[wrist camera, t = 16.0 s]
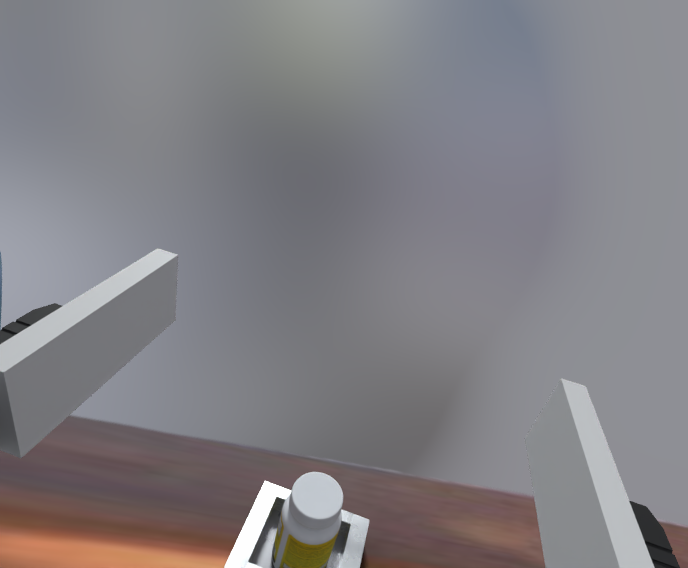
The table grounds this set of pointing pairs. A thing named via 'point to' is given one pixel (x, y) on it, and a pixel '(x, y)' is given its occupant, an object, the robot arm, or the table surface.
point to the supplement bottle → (308, 523)
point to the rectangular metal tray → (261, 526)
